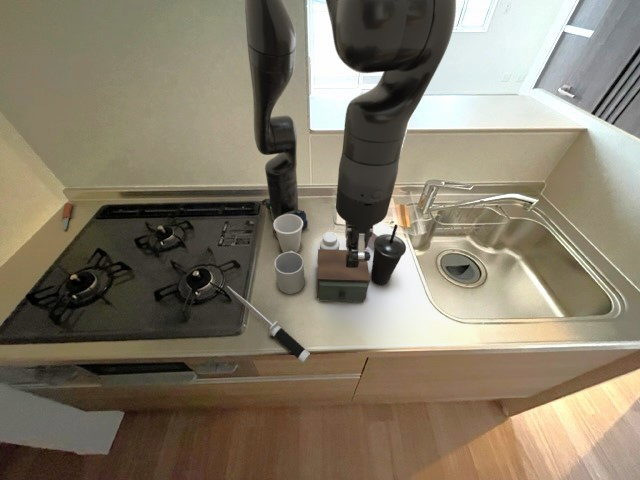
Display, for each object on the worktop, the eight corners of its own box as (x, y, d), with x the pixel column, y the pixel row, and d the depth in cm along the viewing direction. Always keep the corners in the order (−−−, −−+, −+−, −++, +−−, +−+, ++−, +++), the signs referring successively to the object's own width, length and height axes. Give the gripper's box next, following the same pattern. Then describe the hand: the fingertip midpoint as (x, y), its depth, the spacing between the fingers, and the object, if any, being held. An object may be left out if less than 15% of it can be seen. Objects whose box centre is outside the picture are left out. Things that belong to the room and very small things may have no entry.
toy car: (271, 221, 78) (281, 233, 76) (303, 207, 84) (313, 217, 81) (272, 234, 83) (281, 245, 80) (302, 219, 88) (312, 229, 86)
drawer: (363, 306, 65) (368, 291, 60) (318, 304, 65) (319, 289, 60) (360, 275, 71) (364, 259, 67) (319, 273, 71) (320, 257, 67)
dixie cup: (307, 240, 81) (306, 216, 74) (298, 260, 76) (297, 236, 68) (282, 235, 83) (279, 211, 76) (272, 254, 77) (268, 229, 70)
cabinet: (364, 299, 67) (370, 280, 61) (316, 298, 67) (317, 278, 61) (361, 270, 74) (365, 250, 67) (317, 269, 74) (318, 249, 67)
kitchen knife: (73, 204, 92) (66, 206, 91) (70, 201, 91) (63, 203, 90) (70, 230, 82) (62, 232, 82) (67, 227, 81) (59, 229, 81)
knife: (308, 357, 58) (311, 349, 54) (301, 366, 56) (304, 359, 52) (232, 288, 66) (230, 277, 62) (224, 295, 64) (221, 284, 61)
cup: (276, 294, 67) (272, 273, 61) (280, 264, 74) (277, 243, 68) (303, 295, 67) (302, 274, 61) (305, 265, 74) (304, 244, 68)
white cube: (365, 242, 82) (368, 228, 77) (378, 235, 84) (382, 221, 80) (378, 253, 78) (382, 240, 74) (392, 246, 81) (396, 232, 76)
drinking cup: (387, 266, 75) (405, 213, 61) (397, 287, 70) (419, 235, 55) (362, 269, 74) (374, 216, 60) (370, 291, 69) (386, 239, 54)
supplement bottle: (336, 268, 74) (338, 245, 67) (317, 265, 75) (318, 242, 68) (338, 254, 78) (341, 231, 71) (321, 251, 78) (322, 228, 71)
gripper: (336, 158, 39) (330, 238, 51) (339, 213, 30) (331, 295, 42) (385, 159, 39) (368, 239, 51) (403, 215, 30) (376, 296, 42)
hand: (351, 264), depth 47 cm, fingers closed
